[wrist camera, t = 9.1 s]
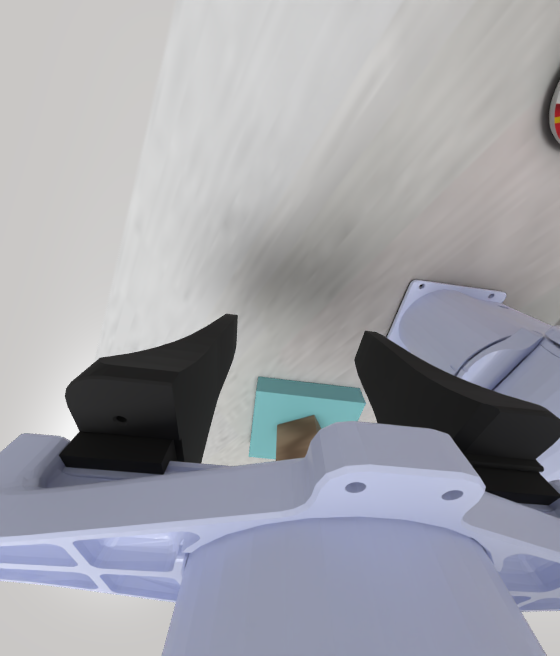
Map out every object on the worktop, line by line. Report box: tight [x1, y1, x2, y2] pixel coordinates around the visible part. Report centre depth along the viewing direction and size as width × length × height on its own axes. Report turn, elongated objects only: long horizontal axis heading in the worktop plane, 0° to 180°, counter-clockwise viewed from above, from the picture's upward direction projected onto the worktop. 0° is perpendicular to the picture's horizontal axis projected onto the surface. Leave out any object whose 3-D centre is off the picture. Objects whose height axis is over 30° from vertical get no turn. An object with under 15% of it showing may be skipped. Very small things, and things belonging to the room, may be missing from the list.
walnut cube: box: [276, 415, 321, 461], centre depth 26 cm, size 5×5×5 cm
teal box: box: [249, 377, 366, 459], centre depth 30 cm, size 13×13×3 cm
